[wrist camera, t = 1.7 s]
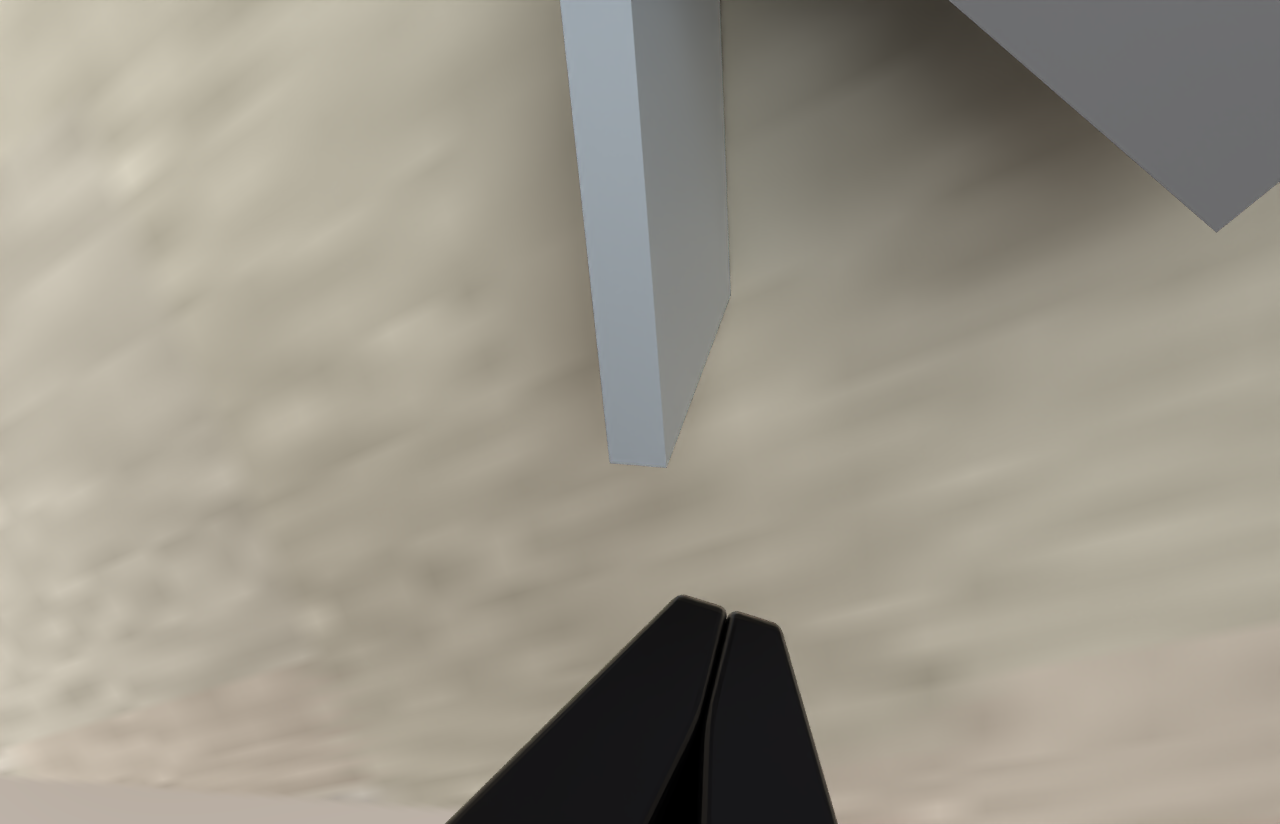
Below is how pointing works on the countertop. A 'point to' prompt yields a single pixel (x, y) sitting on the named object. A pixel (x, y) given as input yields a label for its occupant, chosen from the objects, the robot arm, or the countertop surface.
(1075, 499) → the countertop surface
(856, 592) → the countertop surface
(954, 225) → the countertop surface
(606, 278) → the side door
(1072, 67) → the grey squat block
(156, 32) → the countertop surface
